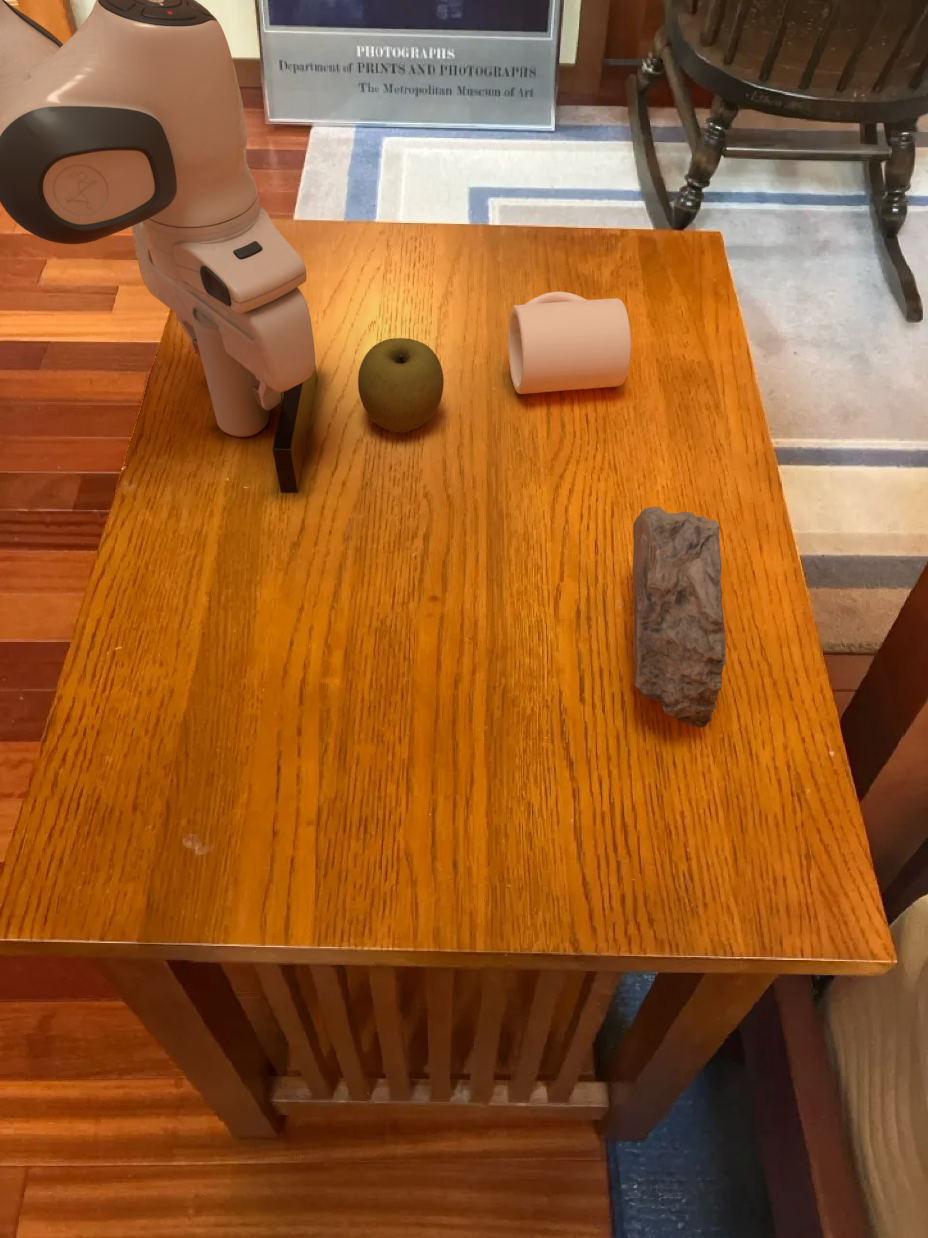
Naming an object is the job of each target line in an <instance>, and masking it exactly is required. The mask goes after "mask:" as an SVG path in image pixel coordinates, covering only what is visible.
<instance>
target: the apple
mask: <svg viewBox="0 0 928 1238" xmlns="http://www.w3.org/2000/svg"><path fill="white" fill-rule="evenodd" d="M357 375H358V377H357V387H358V394H359V398H360V402H361V404H362V406H363V408H364V410H365V412H366V414H367V415H368V417H369V418H370V419H371V420H372V421H373V422H374V423H375V424H376V425H377V426H379V427H380V428H383V429H385V430H386V431H390V432H394V433H408V432H411V431H414V430H417V429H418V428H419V427H421V426H423V425H424V424H425V423H426V422H427V421H429V420H430V419H431V417H432V416H433V415H434V414H435V412H436V411H437V410H438V407H439V406H440V403H441V400H442V398H443V397H442V396H443V392H444V383H445V382H444V381H445V380H444V372H443V367H442V365H441V361H440V359H439V358H438V356H437V354H436V353H435V351H434V350H433V349H432V347H431V348H430V346H428V345H426V343H424V342H421V341H419V340H415V339H412V338H407V337H394V338H393V337H392V338H387V339H384V340H381V341H380V342H378V343H376V344H374V345H373V346H372V347H371V348H370V349H369V350H368V351H367V352H366V354H365V355H364V357H363V359H362V361H361V364H360V367H359V370H358V374H357Z"/></svg>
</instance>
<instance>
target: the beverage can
mask: <svg viewBox="0 0 928 1238" xmlns="http://www.w3.org/2000/svg"><path fill="white" fill-rule="evenodd" d="M192 316H193V317H192V322H193V327H194V331H195V335H196V339H197V343H198V347H199V351H200V355H201V357H200V359H201V363H202V368H203V371H204V372H203V373H204V375H205V379H206V384H207V388H208V392H209V395H210V400H211V404H212V408H213V412H214V416H215V421H216V424H217V426H218V427H219V429H220V430H221V431H223V432H224V433H226V434H227V435H229V436H232V437H236V438H249V437H253V436H254V435H257V434H258V433H260V432H262V430H264V429H265V428H266V425H267V424H268V423H269V422H270V419H271V418H270V417H271V414H270V410H266V409H264V408H263V407H262V406H261V405H259V404H258V403H257V402H256V401H255V395H254V393H253V387H255V386H257V385H259V384H260V381H258V380H257V379H256V376H255V375H254V374H253V373H252V372H250V371H249V370H248V369H247V368H245V367H244V366H243V365H241V364H240V363H239V362H238V361H236V360H235V359H234V358H233V357H231V356H230V355H229V354H227V353H226V351H225V349H224V346H223V341H222V336H221V333H220V332H219V330H218V328H219V326H218V325H215V324H214V323H212V322H211V321H210V320H209V319H207V318H206V317H204V316H203V315H202V314H201V313H199V312H198V311H196V310H195V308H194V307H193V309H192Z"/></svg>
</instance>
